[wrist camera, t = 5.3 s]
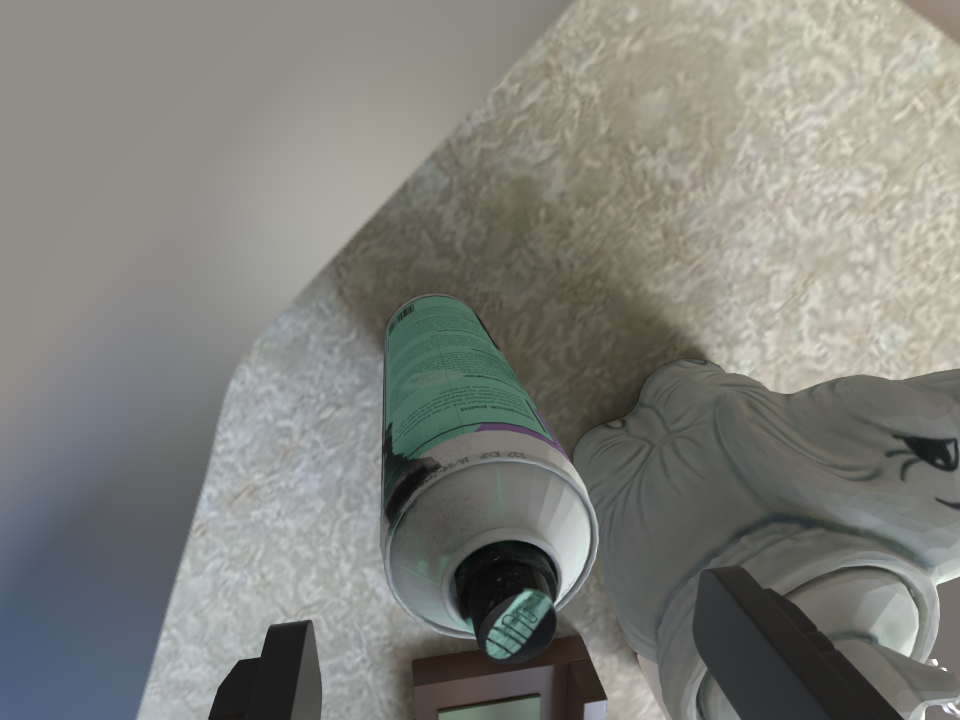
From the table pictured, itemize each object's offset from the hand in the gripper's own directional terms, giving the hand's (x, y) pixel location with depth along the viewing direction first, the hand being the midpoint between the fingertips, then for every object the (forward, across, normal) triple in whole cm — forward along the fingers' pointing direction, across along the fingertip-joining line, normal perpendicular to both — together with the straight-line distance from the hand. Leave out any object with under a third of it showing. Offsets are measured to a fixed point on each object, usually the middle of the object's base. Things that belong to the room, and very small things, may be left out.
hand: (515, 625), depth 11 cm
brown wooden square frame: (+20, -3, +28) cm, 35 cm away
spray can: (+20, 0, 0) cm, 20 cm away
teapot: (+20, -15, +6) cm, 26 cm away
